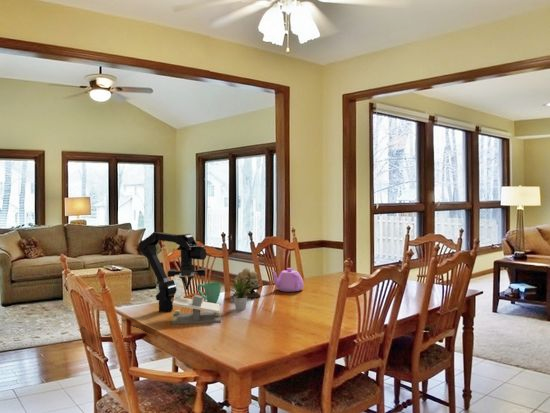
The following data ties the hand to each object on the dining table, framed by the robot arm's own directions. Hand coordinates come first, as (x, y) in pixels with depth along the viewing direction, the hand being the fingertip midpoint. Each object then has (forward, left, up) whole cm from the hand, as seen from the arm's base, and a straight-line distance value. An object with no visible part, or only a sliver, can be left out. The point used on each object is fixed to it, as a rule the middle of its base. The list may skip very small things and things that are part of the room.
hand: (187, 289), depth 242 cm
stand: (+5, -12, -12) cm, 18 cm away
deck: (+5, -12, -6) cm, 14 cm away
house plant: (+27, +4, -12) cm, 30 cm away
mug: (+10, +25, -12) cm, 30 cm away
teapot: (+57, +48, -12) cm, 76 cm away
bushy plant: (+32, +35, -12) cm, 49 cm away
